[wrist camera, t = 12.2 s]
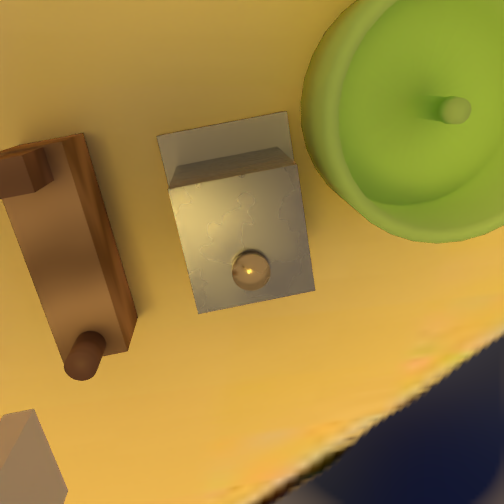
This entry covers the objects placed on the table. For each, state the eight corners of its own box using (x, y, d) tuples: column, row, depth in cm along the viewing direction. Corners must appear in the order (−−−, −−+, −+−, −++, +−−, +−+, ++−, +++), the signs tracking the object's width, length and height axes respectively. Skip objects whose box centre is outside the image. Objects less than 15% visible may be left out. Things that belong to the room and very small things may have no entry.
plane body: (18, 145, 29) (-43, 165, 22) (82, 133, 29) (42, 149, 22) (82, 328, 33) (48, 394, 26) (137, 317, 33) (118, 379, 26)
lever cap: (176, 166, 30) (166, 192, 23) (277, 146, 30) (299, 166, 23) (200, 266, 32) (198, 319, 25) (293, 248, 32) (317, 295, 25)
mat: (157, 135, 29) (156, 136, 29) (285, 110, 30) (286, 111, 29) (195, 292, 33) (195, 295, 33) (309, 270, 33) (310, 272, 33)
